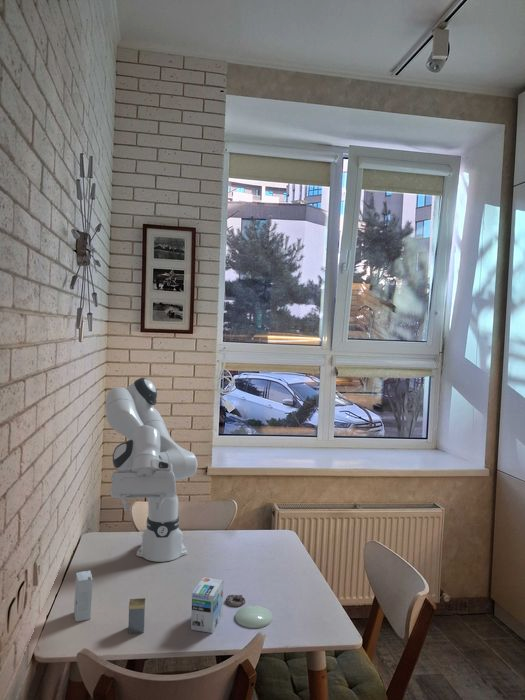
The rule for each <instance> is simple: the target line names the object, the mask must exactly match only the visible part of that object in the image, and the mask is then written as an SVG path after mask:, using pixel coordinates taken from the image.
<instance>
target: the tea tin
mask: <svg viewBox="0 0 525 700" xmlns="http://www.w3.org/2000/svg"><path fill="white" fill-rule="evenodd" d="M145 618H146V598H145V597H144V598H130V599H129V604H128V625H127V626H128V628H127V629H128V633H127V634H128V635H132V634H144V632H145V621H146V619H145Z"/></svg>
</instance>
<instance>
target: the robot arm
mask: <svg viewBox="0 0 525 700" xmlns="http://www.w3.org/2000/svg"><path fill="white" fill-rule="evenodd" d="M157 395H158V393H157V389H156V386H155V385H154V383H153V382H152V381H151V380H149V379H148V378H145V377H140V378H137V379H136V380H134V382H133V383H130V384H129V385H128V386H127V387H123V386H122V387H121V386H116V387H113V388H111V389H110V390H109V391H108V392H107V393H106V397H105V407H104V408H105V416H106V421H107V423H108V425H109V426H110V427H111V429H112V430H114V431H115V432H117V433H118V434H120V435H121V436H123V437H124V438H126V439H127V440H126V441H124V442H122V443H120V444H118V445H117V446H116V447H115V449H114V451H113V453H112V454H113V455H112V464H113V467H114V468H115V469H116V471H114V472H113V473H111V478H110V480H111V486H110V492H109V493H110V496H111V497H112V498H113V499H121V502H122V504H123V505H124V506H123V511H124V512H125V511H128V512H129V511H130V503H129V502H127V499H144V498H146V499H147V505H148V510H147V511H148V514H147V515H148V516H147V517H146V529H145V530H144V532H142V534H141V538H142V539H141V540H142V541H141V546H140V547H139V548H138V550H137V551H136V555H135V556H137V557H141V558H143V559H146V560H147V561H151V562H156V563H157V562H159V563H160V562H161V563H163V562H170V561H174V560H176V559H178V558H180V557H181V556H185V555H187V554H188V550H187V548H186V546H185V545H184V543H183V542H184V540H183V532H182V530H181V529H180V528H179V527H180V516H179V514H178V513H179V497H178V495H177V484H176V482H177V481H181V480H186V479H188V478H190V477H193V476H194V475H195V474H196V472H197V470H198V466H199V465H198V463H199V462H198V459H197V457H196V455H195V453H194V452H192V451H190V450H188V449H185V448H183V447H182V446H181V445H179V444H178V443H176V441H174V440H173V438H172V437H171V435H170V433H169V431H168V428H167V426H166V424H165V421H164V419H163V417H162V415H161V414H160V412H159V411H158V409H156V408H155V407H154V406H156V404H157V397H158V396H157Z"/></svg>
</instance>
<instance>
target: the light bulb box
mask: <svg viewBox="0 0 525 700" xmlns="http://www.w3.org/2000/svg"><path fill="white" fill-rule="evenodd" d="M223 603H224V580H223V579H218V578H217V579H216V578H210V577H205V576H204V577H202V578H201V580H200V581H199V582H198V584H197V585H196V587H195V588H194V590H192V592H191V616H190V617H191V618H190V619H191V620H190V621H191V623H190V630H191V631H197V632H204V633H209V634H212V633H214V631H215V629H216V627H218V624H219V622H220V620H221V618H222V617H223V608H224V607H223V605H224V604H223Z"/></svg>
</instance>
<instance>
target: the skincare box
mask: <svg viewBox="0 0 525 700" xmlns="http://www.w3.org/2000/svg"><path fill="white" fill-rule="evenodd" d="M93 582H94V580H93V575H92V572H91V570H84V571H78V572H76V573H75V585H74V586H75V588H74V604H73V606H74V608H73V617H74V621H75V622H82V621H89V620H91V618H92V617H91V615H92V614H91V613H92V600H93V599H92V598H93V597H92V596H93Z"/></svg>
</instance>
